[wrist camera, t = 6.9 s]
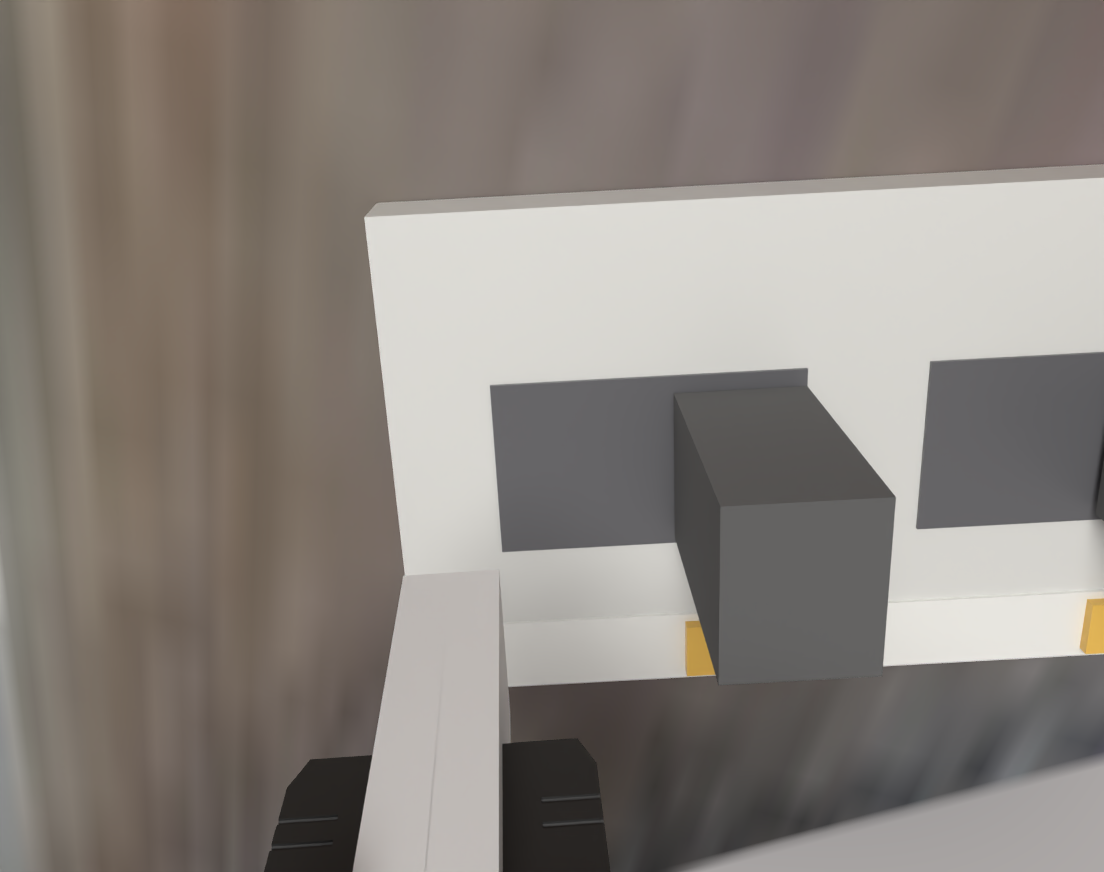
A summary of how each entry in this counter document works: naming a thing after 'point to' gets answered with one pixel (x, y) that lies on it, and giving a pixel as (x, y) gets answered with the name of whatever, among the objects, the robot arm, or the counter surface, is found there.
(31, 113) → the counter surface
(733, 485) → the block
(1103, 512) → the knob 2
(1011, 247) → the switch board
